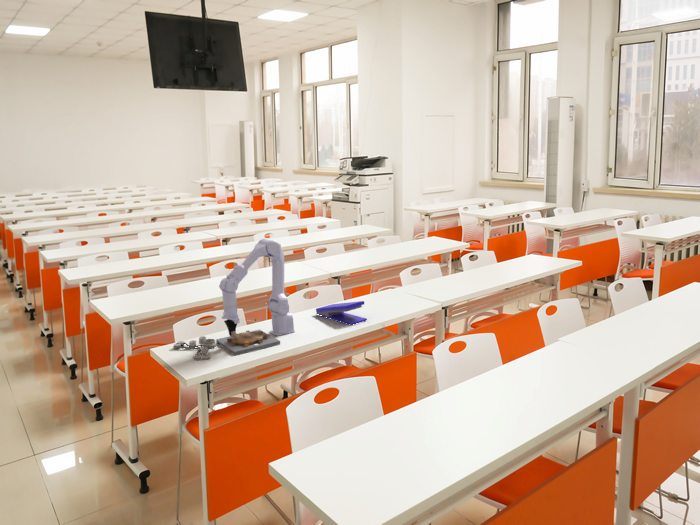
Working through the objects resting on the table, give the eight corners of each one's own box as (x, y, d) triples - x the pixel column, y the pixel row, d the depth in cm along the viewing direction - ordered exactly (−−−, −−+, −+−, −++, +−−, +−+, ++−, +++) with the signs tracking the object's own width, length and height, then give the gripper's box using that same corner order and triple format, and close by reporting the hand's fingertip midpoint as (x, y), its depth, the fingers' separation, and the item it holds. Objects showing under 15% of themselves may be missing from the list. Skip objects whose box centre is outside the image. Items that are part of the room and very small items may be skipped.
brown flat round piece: (248, 331, 259) (247, 321, 258) (275, 336, 249) (274, 326, 248) (219, 342, 246) (218, 331, 245) (246, 348, 235) (245, 337, 234)
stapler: (350, 326, 265) (349, 306, 263) (315, 315, 286) (313, 297, 284) (368, 320, 272) (367, 301, 271) (332, 311, 293) (331, 292, 292)
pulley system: (201, 341, 258) (170, 347, 248) (201, 331, 257) (169, 337, 247) (231, 357, 237) (197, 364, 228) (230, 346, 236) (197, 353, 227)
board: (259, 332, 262) (259, 328, 262) (280, 344, 244) (279, 339, 244) (216, 342, 251) (216, 338, 251) (234, 355, 233) (234, 350, 233)
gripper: (215, 304, 247) (218, 333, 249) (227, 310, 235) (229, 341, 237) (230, 301, 250) (233, 330, 253) (243, 307, 238) (245, 338, 241)
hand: (232, 335), depth 245 cm, fingers closed, pressing on brown flat round piece
